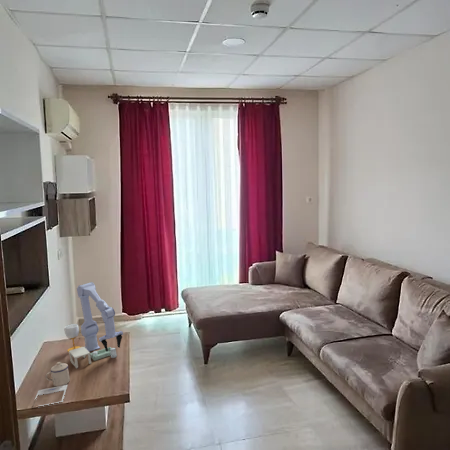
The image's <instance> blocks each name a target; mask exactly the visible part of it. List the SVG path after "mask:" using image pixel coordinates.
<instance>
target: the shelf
mask: <svg viewBox="0 0 450 450" xmlns="http://www.w3.org/2000/svg"><path fill="white" fill-rule="evenodd" d="M90 353H91V351H90V352H89V351H88V350H87V349H86V348H85V345H84V346H80V348H77V349H73V350H70V351H69V352H68V354H69V361H70V363H71V364H72V365H73V367H75V369H78V368H79V364H78V363H79V362H78V358H81V357H82V358H83V359H85V358H86V356H87V359H88V360H87V361H88V364H89V365H92V358H91V356H90Z"/></svg>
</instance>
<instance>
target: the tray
mask: <svg viewBox="0 0 450 450" xmlns="http://www.w3.org/2000/svg"><path fill="white" fill-rule="evenodd" d="M107 348H108V352H106V350H105V348H101V349H98V350H93V352H92V351H91V352H90V356H91V360H93V361H98V360H101V359H104V358H107V357H111V354H110V349H111V348H112V347H111V346H109V347H108V346H107Z"/></svg>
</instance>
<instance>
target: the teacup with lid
mask: <svg viewBox="0 0 450 450" xmlns="http://www.w3.org/2000/svg"><path fill="white" fill-rule="evenodd" d="M49 374H51V378H49V376H48V375H49ZM45 379H46V380H47V381H48V382H49V381H50V382H51V381H52V385H53V387H58V386H63V385H68V383H69V382H70V372H69V365H68V364H67V363H65V362H63V363H62V362H61V361H58V362H56V364H55V365H53V366H52V367H51V368H50V371H48V372H47V373H46V374H45Z"/></svg>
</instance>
